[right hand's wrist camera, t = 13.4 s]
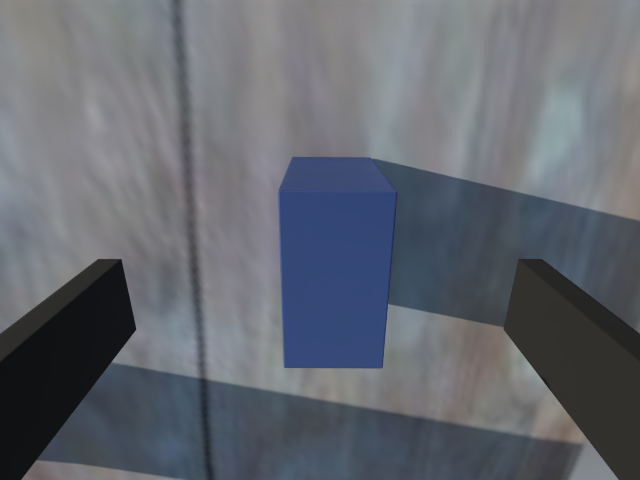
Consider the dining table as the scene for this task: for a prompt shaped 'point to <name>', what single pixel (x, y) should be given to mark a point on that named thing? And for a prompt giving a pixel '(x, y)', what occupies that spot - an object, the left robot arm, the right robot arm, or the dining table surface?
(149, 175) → the dining table surface
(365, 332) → the block
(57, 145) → the dining table surface
